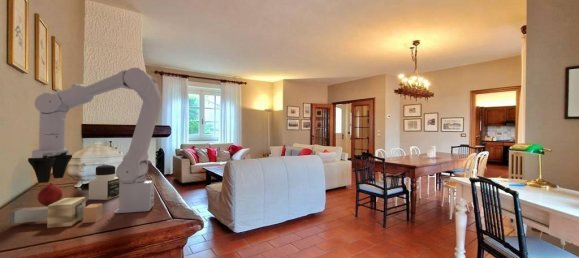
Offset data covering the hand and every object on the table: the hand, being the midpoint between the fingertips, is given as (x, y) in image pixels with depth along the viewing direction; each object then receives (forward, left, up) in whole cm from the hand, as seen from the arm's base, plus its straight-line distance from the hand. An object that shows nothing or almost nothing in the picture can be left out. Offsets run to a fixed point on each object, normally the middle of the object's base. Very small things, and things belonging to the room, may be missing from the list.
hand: (51, 180), depth 77 cm
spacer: (-13, +10, -8) cm, 18 cm away
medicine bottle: (-8, -18, -10) cm, 22 cm away
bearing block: (-8, +10, -10) cm, 16 cm away
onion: (+4, -8, -10) cm, 13 cm away
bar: (-5, +10, -9) cm, 14 cm away
